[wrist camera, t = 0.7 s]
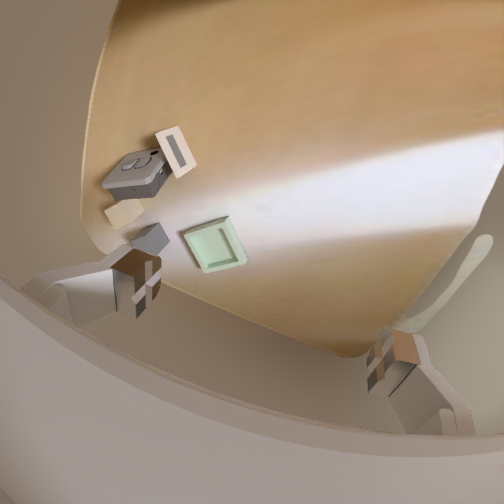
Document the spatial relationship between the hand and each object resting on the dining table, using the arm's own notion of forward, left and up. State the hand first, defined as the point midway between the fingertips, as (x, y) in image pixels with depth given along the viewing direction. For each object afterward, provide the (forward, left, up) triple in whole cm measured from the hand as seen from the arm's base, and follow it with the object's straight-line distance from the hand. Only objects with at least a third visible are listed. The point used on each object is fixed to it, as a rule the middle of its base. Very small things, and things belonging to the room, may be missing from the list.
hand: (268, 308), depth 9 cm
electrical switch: (-5, -24, -33) cm, 41 cm away
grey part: (+6, -31, -33) cm, 46 cm away
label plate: (-6, -17, -33) cm, 38 cm away
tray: (+11, -20, -33) cm, 40 cm away
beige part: (-1, -33, -33) cm, 47 cm away
